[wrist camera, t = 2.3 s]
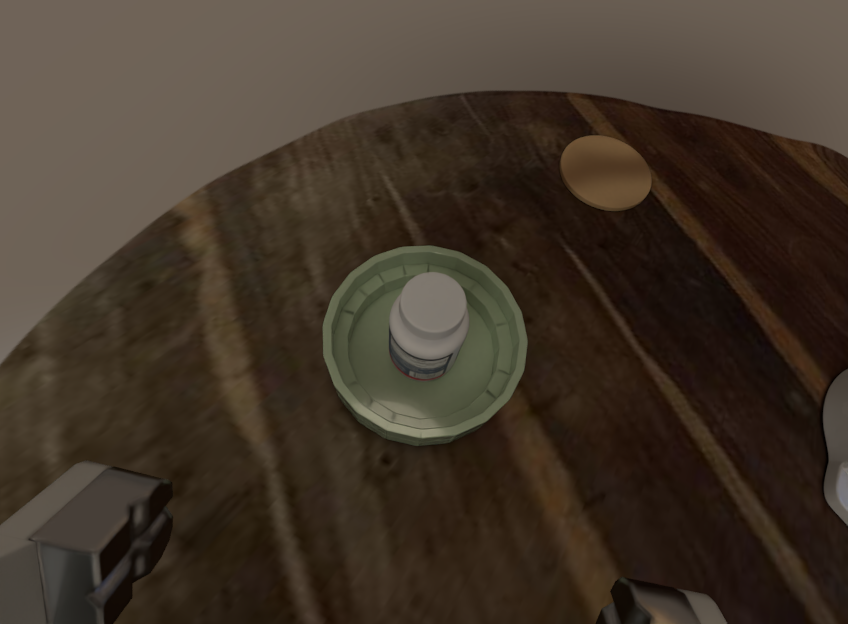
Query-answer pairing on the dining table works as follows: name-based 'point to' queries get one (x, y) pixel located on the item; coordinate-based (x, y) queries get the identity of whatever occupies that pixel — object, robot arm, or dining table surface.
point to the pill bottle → (428, 326)
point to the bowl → (408, 399)
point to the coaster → (605, 173)
